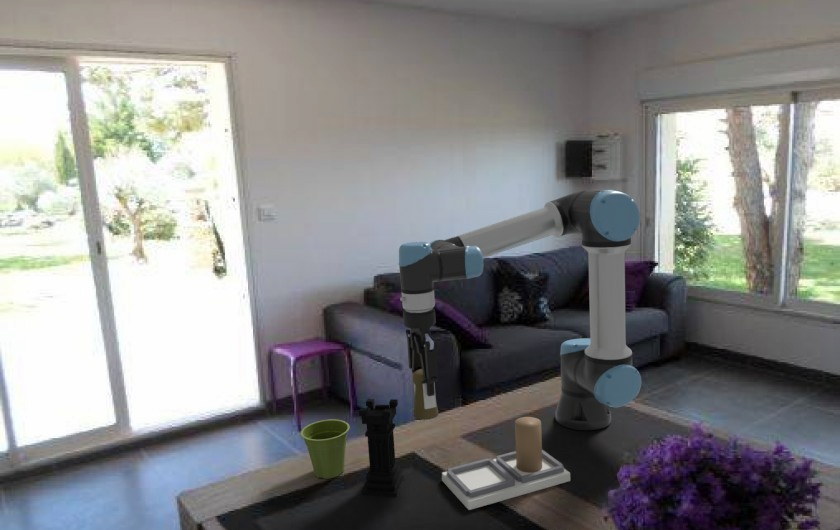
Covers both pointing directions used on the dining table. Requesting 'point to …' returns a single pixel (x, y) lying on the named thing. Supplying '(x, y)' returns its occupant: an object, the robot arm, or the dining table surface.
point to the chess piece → (381, 449)
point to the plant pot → (326, 446)
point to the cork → (421, 399)
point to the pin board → (507, 470)
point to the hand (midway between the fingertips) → (425, 403)
